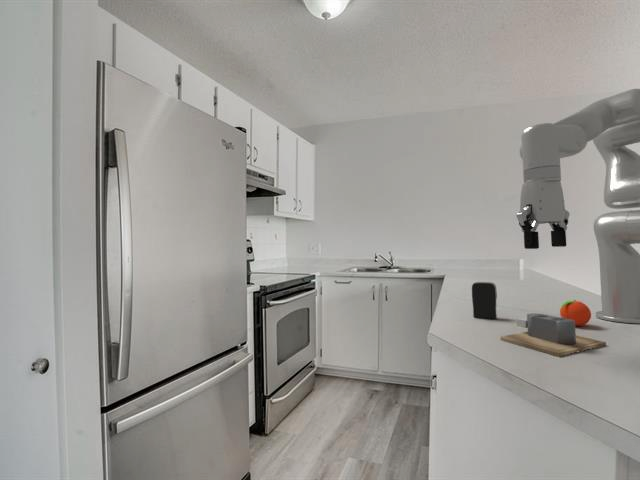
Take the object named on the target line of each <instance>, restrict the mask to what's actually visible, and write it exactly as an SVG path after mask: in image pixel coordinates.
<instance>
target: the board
mask: <svg viewBox="0 0 640 480" xmlns="http://www.w3.org/2000/svg"><path fill="white" fill-rule="evenodd" d="M503 340H504V341H503ZM500 341H503V342H506V341H507V342H506V343H510V342H511V343H510V344H513V343H514V345H517V344H518V345H517V346H520V345H521V347H523V346H524V348H527V347H528V348H527V349H530V348H532V349H531V350H534V349H535V350H534V351H537V350H539V351H538V352H540V351H542V353H544V352H545V353H544V354H547V353H548V355H551V354H552V355H551V356H554V355H555V357H558V356H561V357H564V356H563V355H565V356H568V355H567V354H569V355H571V354H570V353H573V354H575V353H574V352H577V351H581V352H583V351H582V350H586V351H588V350H587V349H590V350H593V349H592V348H594V349H598V348H601V347H607V342H606V341H602V340H600V339H599V340H598V339H594V338H589V337H587V336H586V337H585V336H581V335H577V334H576V344H575V345H563V344H558V343H554V342H550V341H546V340H542V339H538V338H534V337H531V336H529V335H528V331H523V332H518V333H513V334H507V335H501V336H500ZM577 353H578V352H577Z"/></svg>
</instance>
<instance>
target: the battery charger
mask: <svg viewBox="0 0 640 480" xmlns="http://www.w3.org/2000/svg"><path fill="white" fill-rule="evenodd" d="M471 299H472V313H473V314H472V315H473V318H478V319H488V320H496V319H497V318H498V314H497V299H498V294H497V285H496V284H495V283H494V282H491V281H476V282H474V283H472V284H471Z"/></svg>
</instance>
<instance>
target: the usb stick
mask: <svg viewBox="0 0 640 480" xmlns="http://www.w3.org/2000/svg"><path fill="white" fill-rule="evenodd" d="M516 327H520V328H523V329H527V332H528V335H529V336H531V337H534V338H538V339H542V340H546V341H550V342H554V343H558V344H563V345H575V344H576V335H577V334H576V326H575V321H574V320H571V319H566V318H562V317H561V316H560V317H559V316H554V315H549V314H544V313H533V312H532V313H527V314H526V317H521V318H520V317H519V318H516Z"/></svg>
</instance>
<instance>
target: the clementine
mask: <svg viewBox="0 0 640 480" xmlns="http://www.w3.org/2000/svg"><path fill="white" fill-rule="evenodd" d="M559 309H560V310H559V315H560V317H561V318H566V319H571V320H574V321H575V327H580V326H581V327H582V326H585V325H586V324H588V323H589V322H590V320H591V318H592V311H591V309H590V307H588V305H586V304H585V303H584V302H581V301H577V300H576V299H574V300H569V301H568V300H567V301H565V302H564V303H562V305H561V306H560V308H559Z"/></svg>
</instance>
